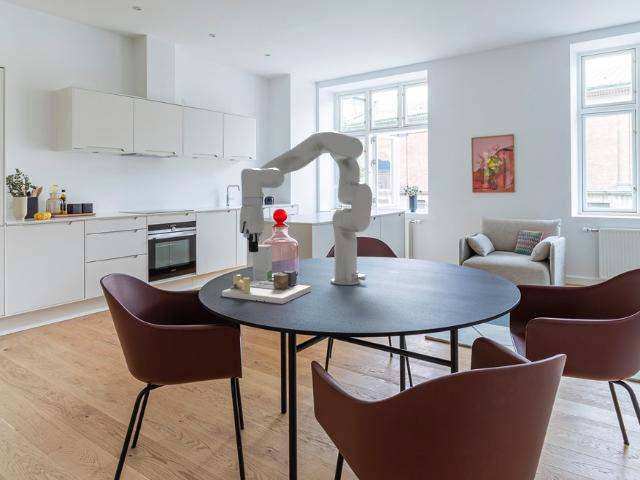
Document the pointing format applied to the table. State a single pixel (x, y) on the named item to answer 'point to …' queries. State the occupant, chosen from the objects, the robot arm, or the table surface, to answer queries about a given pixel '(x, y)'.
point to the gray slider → (291, 277)
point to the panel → (267, 292)
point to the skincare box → (262, 263)
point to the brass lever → (242, 283)
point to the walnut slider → (280, 280)
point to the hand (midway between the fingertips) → (253, 251)
